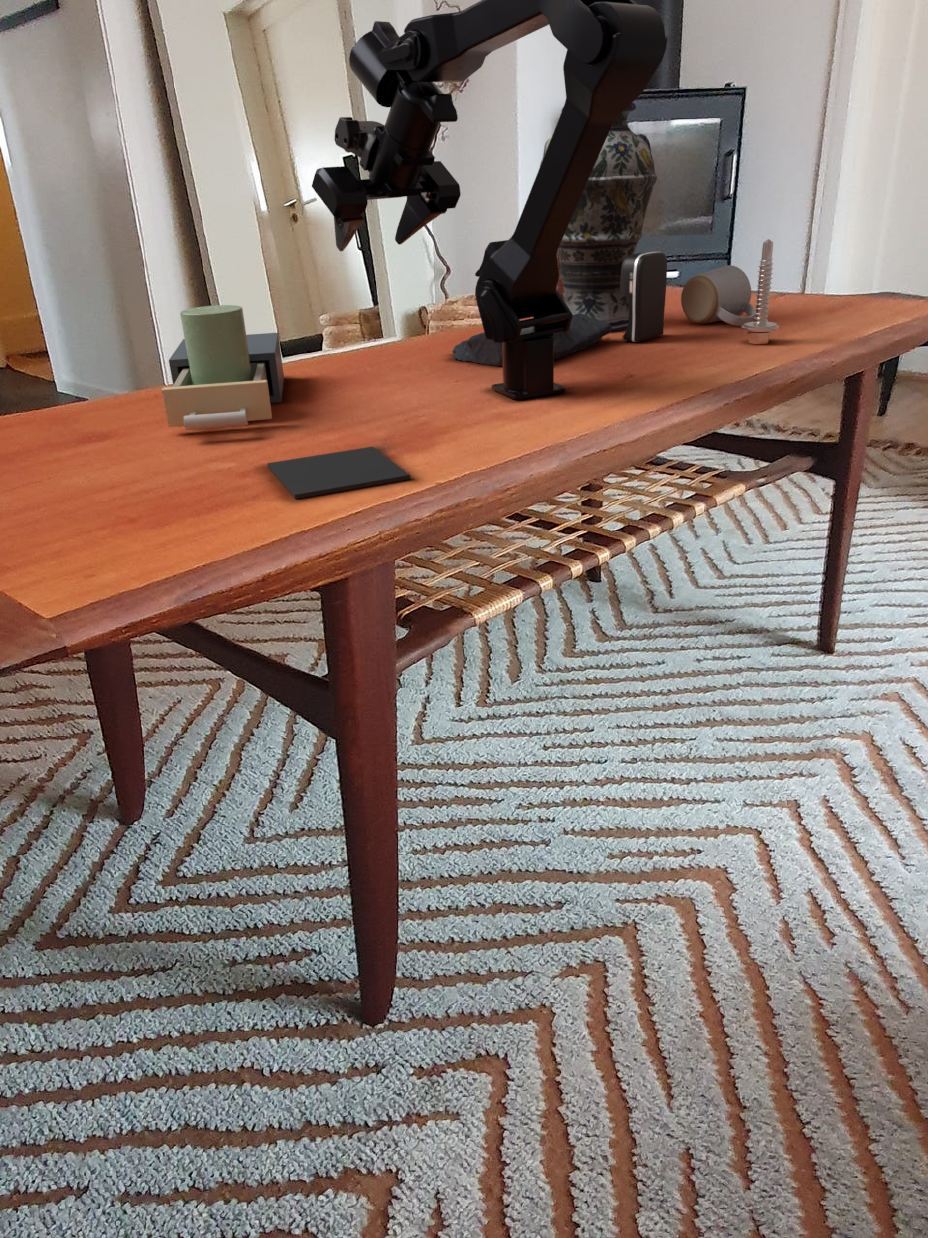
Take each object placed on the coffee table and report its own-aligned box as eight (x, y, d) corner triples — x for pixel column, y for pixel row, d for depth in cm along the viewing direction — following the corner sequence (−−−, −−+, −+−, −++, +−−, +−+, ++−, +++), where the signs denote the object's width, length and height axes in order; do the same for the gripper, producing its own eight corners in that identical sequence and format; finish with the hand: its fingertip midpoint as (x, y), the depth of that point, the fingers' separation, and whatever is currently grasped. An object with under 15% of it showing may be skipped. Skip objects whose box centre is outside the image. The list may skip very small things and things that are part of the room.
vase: (519, 324, 147) (515, 108, 134) (616, 313, 153) (622, 104, 139) (566, 340, 133) (567, 100, 120) (671, 328, 139) (683, 96, 125)
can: (260, 396, 101) (247, 310, 97) (200, 404, 99) (185, 316, 95) (247, 385, 106) (235, 303, 102) (190, 393, 104) (176, 308, 100)
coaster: (410, 479, 79) (409, 474, 79) (295, 499, 76) (294, 494, 76) (372, 450, 88) (372, 446, 87) (267, 467, 84) (267, 463, 84)
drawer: (270, 428, 93) (265, 390, 91) (163, 437, 92) (155, 398, 90) (275, 392, 107) (270, 358, 106) (183, 399, 106) (177, 365, 105)
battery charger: (642, 333, 136) (645, 249, 131) (665, 335, 133) (669, 250, 128) (614, 341, 131) (616, 254, 126) (637, 343, 129) (640, 255, 124)
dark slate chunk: (630, 343, 130) (631, 307, 127) (525, 371, 116) (525, 331, 114) (545, 333, 139) (545, 299, 137) (439, 358, 126) (438, 321, 124)
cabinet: (281, 402, 107) (274, 352, 104) (177, 410, 105) (168, 359, 103) (284, 377, 119) (278, 332, 116) (190, 384, 117) (183, 338, 115)
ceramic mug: (675, 322, 143) (678, 269, 139) (709, 315, 147) (714, 263, 143) (732, 330, 135) (737, 274, 132) (766, 323, 140) (772, 268, 136)
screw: (738, 345, 125) (742, 338, 129) (776, 346, 123) (778, 339, 127) (747, 240, 119) (750, 237, 123) (787, 240, 117) (789, 236, 121)
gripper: (433, 88, 115) (394, 198, 127) (304, 88, 104) (274, 207, 116) (483, 148, 112) (438, 254, 124) (355, 154, 101) (319, 270, 113)
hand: (369, 245), depth 119 cm, fingers open, 9 cm apart
